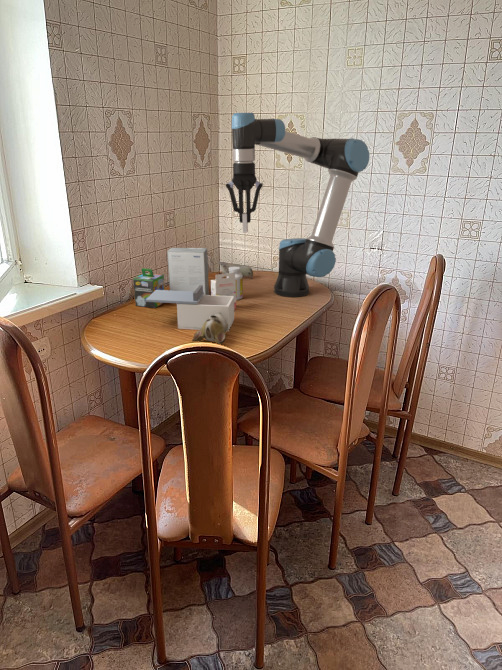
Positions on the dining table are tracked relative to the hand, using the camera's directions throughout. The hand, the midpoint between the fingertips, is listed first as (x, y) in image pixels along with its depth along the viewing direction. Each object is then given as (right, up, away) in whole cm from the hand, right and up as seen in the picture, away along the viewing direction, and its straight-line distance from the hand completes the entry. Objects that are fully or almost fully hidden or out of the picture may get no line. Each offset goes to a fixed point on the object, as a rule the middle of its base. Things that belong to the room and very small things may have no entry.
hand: (245, 231), depth 181 cm
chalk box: (-38, -25, +22) cm, 51 cm away
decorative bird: (-6, -10, +60) cm, 61 cm away
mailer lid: (-25, -24, -1) cm, 34 cm away
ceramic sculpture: (-10, -39, -13) cm, 42 cm away
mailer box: (-14, -33, +1) cm, 36 cm away
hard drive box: (-24, -21, +32) cm, 45 cm away
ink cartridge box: (-9, -27, +17) cm, 33 cm away
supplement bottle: (-5, -22, +30) cm, 38 cm away
